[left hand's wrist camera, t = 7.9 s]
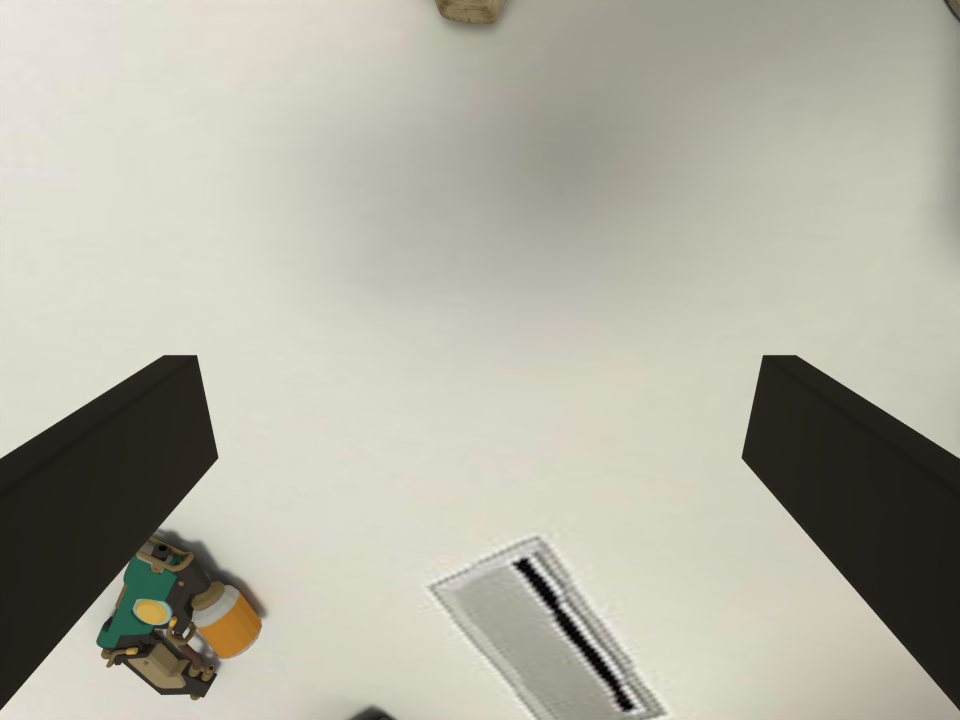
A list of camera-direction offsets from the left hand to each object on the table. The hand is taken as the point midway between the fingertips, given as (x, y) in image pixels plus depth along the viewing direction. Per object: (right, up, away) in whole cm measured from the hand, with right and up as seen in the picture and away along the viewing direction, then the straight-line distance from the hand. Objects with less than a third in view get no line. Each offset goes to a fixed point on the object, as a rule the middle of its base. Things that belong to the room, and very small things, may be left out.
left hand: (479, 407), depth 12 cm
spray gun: (-29, -23, +38) cm, 53 cm away
